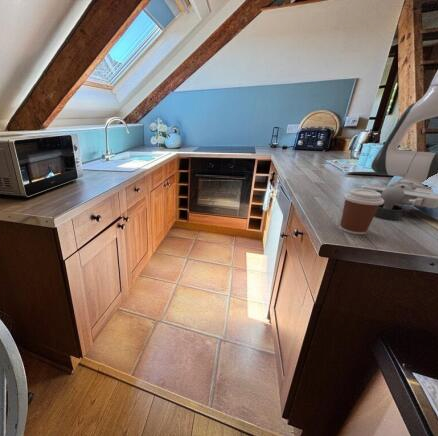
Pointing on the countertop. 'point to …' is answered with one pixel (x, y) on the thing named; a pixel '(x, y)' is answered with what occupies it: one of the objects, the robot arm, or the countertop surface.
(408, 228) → the countertop surface
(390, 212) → the dark round bowl
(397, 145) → the robot arm
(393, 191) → the light bulb
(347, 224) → the coffee cup
